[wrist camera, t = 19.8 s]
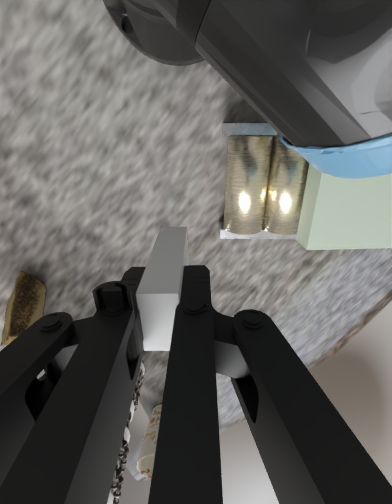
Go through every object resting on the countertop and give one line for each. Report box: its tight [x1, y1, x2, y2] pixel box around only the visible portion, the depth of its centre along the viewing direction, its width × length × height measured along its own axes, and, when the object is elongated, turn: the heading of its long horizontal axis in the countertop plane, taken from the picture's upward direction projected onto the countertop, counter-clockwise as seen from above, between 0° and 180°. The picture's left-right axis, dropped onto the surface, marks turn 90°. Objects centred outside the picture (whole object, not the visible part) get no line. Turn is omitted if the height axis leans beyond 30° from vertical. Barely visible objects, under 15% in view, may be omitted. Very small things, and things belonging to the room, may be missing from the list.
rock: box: [1, 271, 46, 346], centre depth 41 cm, size 11×9×10 cm
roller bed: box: [218, 123, 310, 239], centre depth 32 cm, size 14×16×5 cm
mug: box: [137, 404, 162, 479], centre depth 52 cm, size 8×13×10 cm, turn 162°
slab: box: [296, 164, 392, 250], centre depth 29 cm, size 12×14×3 cm
